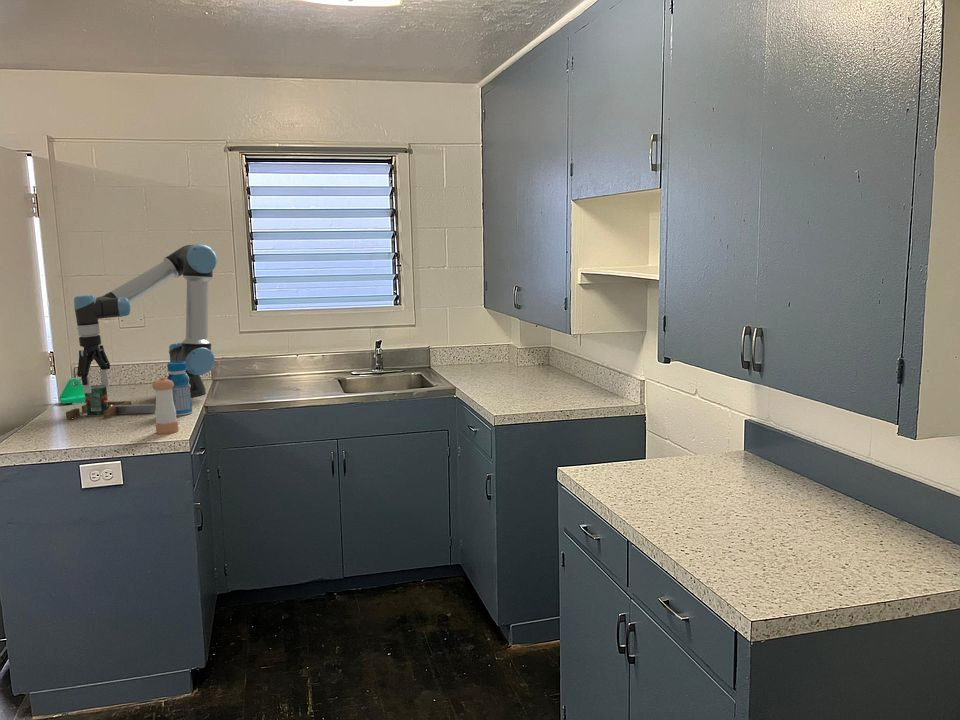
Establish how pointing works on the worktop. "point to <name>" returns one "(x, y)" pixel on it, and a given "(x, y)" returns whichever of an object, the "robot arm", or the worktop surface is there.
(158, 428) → the pepper shaker
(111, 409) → the frame
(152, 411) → the bar
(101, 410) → the canned tomato
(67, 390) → the camera mount
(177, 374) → the beverage bottle
